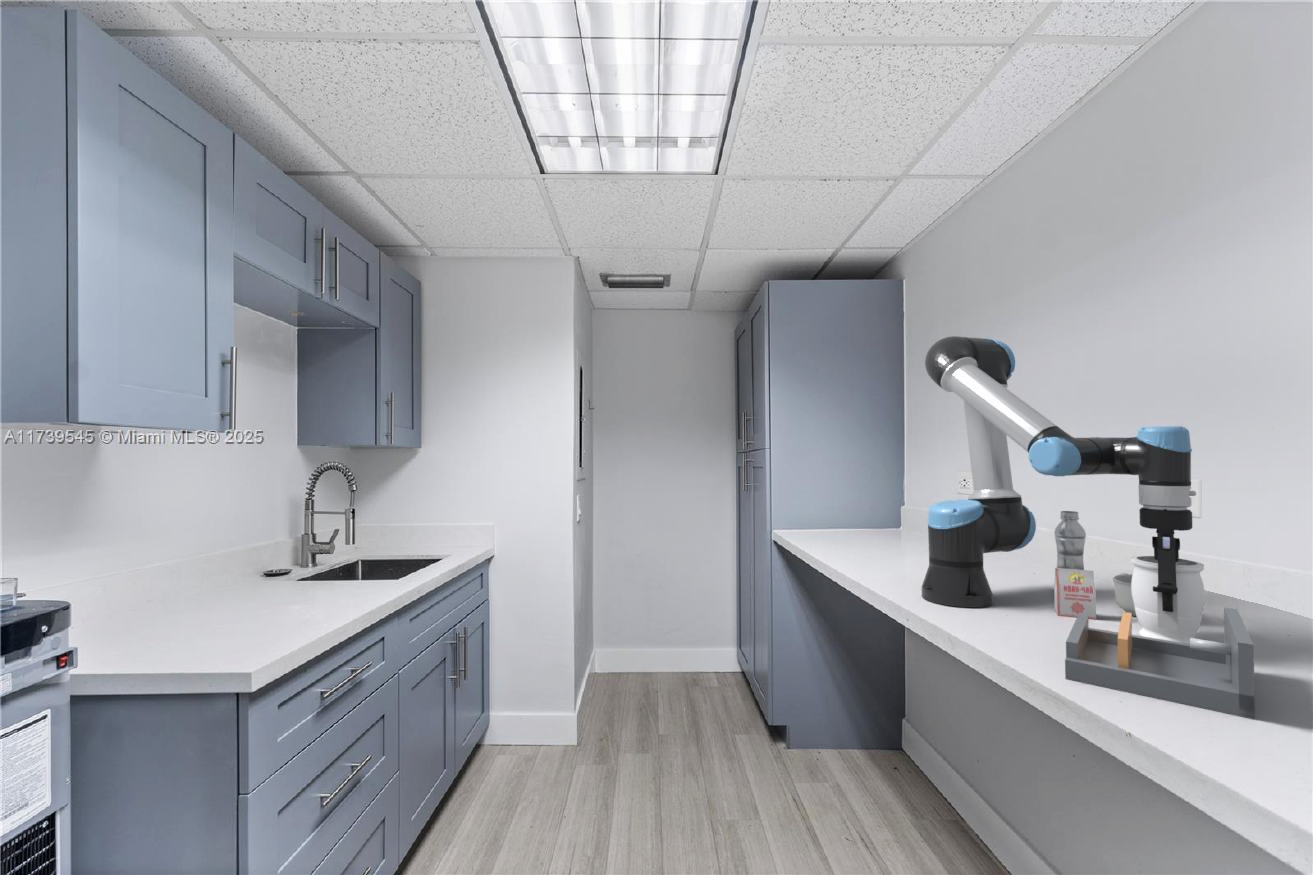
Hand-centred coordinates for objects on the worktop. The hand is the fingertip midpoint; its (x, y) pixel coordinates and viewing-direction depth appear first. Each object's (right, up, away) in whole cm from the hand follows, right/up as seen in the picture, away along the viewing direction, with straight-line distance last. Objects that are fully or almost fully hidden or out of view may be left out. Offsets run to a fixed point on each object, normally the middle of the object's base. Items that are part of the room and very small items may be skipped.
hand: (1167, 620), depth 109 cm
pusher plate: (-19, -2, -14) cm, 24 cm away
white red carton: (-6, -4, +16) cm, 17 cm away
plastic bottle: (+7, -4, +36) cm, 37 cm away
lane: (-17, -4, -16) cm, 23 cm away
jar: (0, -4, 0) cm, 4 cm away
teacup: (+9, -4, +17) cm, 20 cm away
